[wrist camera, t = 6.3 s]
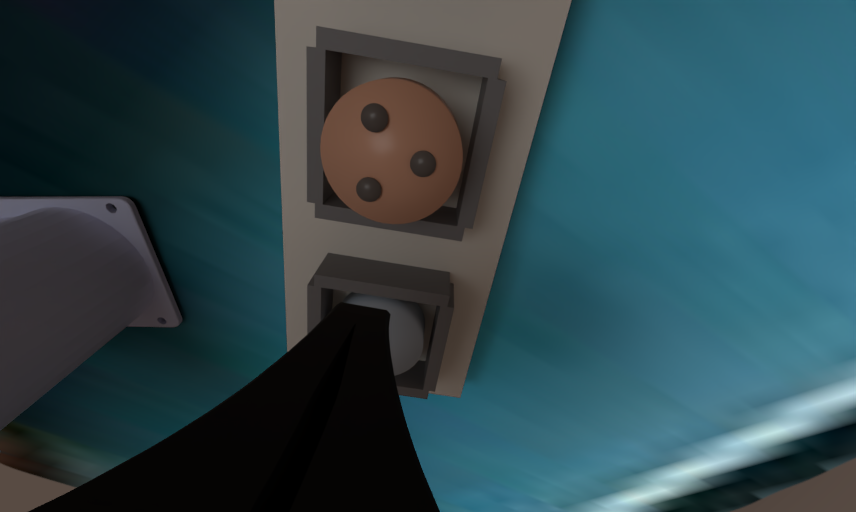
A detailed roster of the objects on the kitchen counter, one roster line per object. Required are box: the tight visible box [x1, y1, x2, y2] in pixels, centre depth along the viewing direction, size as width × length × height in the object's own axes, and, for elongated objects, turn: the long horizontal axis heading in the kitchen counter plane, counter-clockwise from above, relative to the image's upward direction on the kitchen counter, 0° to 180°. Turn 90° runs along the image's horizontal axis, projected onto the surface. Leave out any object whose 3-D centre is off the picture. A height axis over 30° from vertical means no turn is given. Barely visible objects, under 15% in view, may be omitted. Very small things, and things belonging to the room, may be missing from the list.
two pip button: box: [342, 292, 425, 376], centre depth 18 cm, size 4×4×2 cm
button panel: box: [274, 0, 572, 399], centre depth 15 cm, size 28×10×4 cm, turn 171°
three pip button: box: [320, 77, 463, 224], centre depth 12 cm, size 4×4×2 cm
